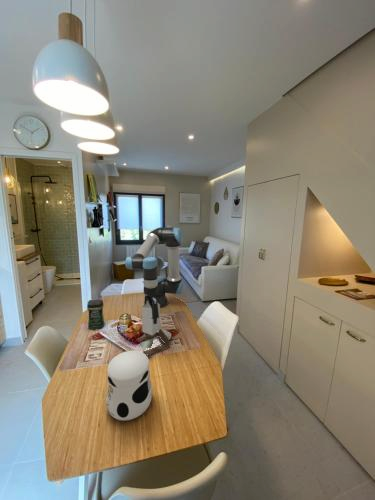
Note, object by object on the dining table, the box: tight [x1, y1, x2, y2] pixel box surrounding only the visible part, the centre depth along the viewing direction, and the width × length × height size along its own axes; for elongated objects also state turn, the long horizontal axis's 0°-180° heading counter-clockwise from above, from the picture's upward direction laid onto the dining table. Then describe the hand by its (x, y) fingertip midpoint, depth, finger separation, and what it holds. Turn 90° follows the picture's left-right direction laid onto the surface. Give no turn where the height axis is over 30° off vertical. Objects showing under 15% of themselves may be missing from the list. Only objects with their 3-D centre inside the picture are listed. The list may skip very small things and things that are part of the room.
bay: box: [137, 327, 171, 356], centre depth 116 cm, size 15×14×5 cm
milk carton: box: [141, 301, 161, 335], centre depth 113 cm, size 7×7×19 cm
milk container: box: [105, 350, 153, 422], centre depth 79 cm, size 17×17×18 cm
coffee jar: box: [86, 299, 105, 330], centre depth 133 cm, size 10×8×19 cm
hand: (151, 324), depth 114 cm, fingers closed on milk carton, 10 cm apart
